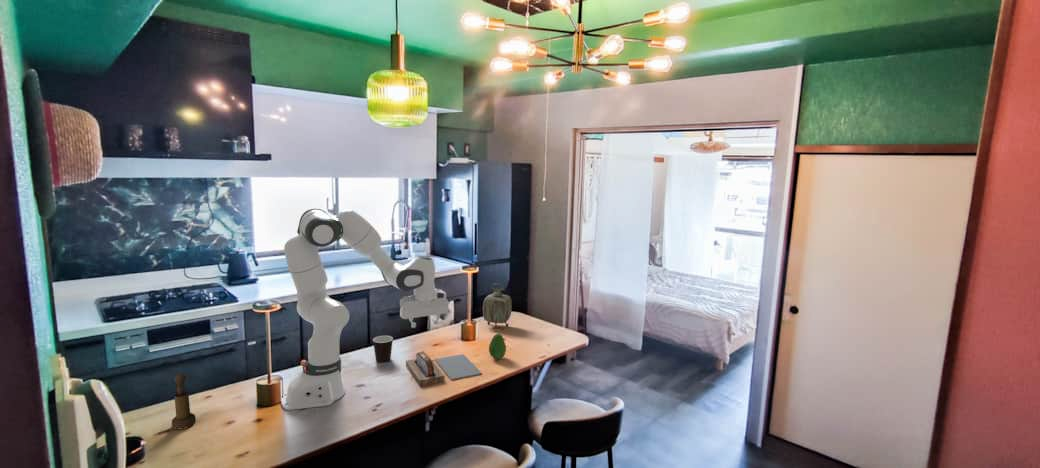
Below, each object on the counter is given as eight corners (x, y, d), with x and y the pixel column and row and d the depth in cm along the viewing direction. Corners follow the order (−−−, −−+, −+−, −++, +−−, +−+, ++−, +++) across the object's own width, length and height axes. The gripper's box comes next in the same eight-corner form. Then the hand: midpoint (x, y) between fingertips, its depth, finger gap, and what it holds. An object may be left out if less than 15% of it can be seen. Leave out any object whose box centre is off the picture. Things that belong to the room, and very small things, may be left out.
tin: (434, 379, 200) (434, 360, 199) (427, 381, 199) (427, 362, 198) (421, 366, 213) (421, 348, 212) (415, 367, 211) (415, 349, 210)
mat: (451, 380, 200) (451, 379, 200) (434, 360, 219) (434, 359, 219) (481, 374, 207) (481, 373, 207) (463, 355, 226) (463, 354, 226)
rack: (419, 386, 194) (419, 380, 194) (406, 365, 213) (406, 360, 212) (444, 381, 199) (444, 375, 199) (429, 361, 218) (429, 356, 217)
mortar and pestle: (169, 431, 158) (165, 380, 156) (174, 421, 164) (170, 372, 161) (193, 427, 161) (189, 377, 158) (197, 417, 167) (193, 369, 164)
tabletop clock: (511, 326, 267) (512, 282, 263) (507, 331, 258) (508, 286, 254) (486, 323, 270) (487, 280, 266) (481, 328, 262) (482, 284, 258)
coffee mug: (387, 365, 213) (387, 343, 211) (369, 362, 215) (369, 341, 213) (399, 354, 224) (399, 334, 223) (382, 352, 226) (381, 332, 224)
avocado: (503, 354, 228) (503, 330, 226) (507, 361, 221) (508, 336, 219) (486, 356, 226) (487, 331, 224) (491, 363, 218) (491, 338, 216)
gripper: (401, 299, 193) (402, 331, 195) (449, 293, 202) (449, 324, 204) (397, 294, 198) (398, 326, 200) (444, 289, 208) (445, 320, 210)
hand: (424, 325), depth 203 cm, fingers open, 8 cm apart
